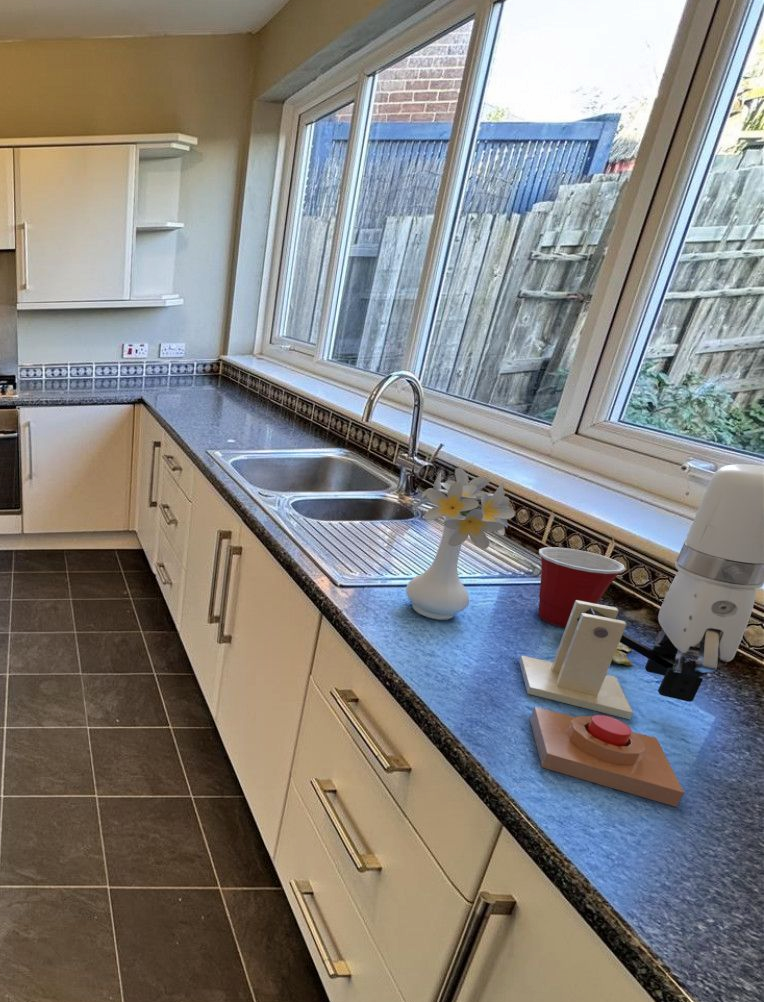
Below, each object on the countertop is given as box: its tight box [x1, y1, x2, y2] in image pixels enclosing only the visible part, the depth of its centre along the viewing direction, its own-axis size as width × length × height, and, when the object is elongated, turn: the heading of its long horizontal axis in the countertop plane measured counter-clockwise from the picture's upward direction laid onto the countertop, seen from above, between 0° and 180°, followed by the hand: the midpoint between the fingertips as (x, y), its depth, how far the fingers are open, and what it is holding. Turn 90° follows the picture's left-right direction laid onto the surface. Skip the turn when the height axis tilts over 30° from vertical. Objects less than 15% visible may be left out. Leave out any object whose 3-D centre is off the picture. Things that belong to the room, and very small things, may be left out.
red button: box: [587, 714, 633, 746], centre depth 75 cm, size 4×4×2 cm
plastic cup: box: [538, 546, 626, 629], centre depth 104 cm, size 11×11×12 cm
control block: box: [529, 706, 685, 808], centre depth 75 cm, size 12×10×4 cm
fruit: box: [612, 642, 634, 666], centre depth 97 cm, size 8×8×4 cm
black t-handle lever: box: [577, 608, 676, 669], centre depth 83 cm, size 12×5×2 cm, turn 59°
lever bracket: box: [518, 600, 634, 720], centre depth 86 cm, size 11×9×13 cm
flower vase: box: [405, 467, 516, 621], centre depth 104 cm, size 13×18×25 cm
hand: (667, 684), depth 83 cm, fingers closed on black t-handle lever, 5 cm apart
